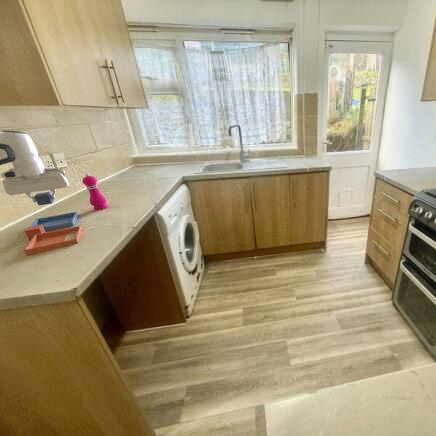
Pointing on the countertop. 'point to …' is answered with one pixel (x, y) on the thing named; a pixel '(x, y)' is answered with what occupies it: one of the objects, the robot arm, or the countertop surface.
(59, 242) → the orange tray
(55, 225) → the blue tray
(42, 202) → the blue block
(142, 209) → the countertop surface
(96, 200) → the pepper mill
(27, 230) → the terracotta block
